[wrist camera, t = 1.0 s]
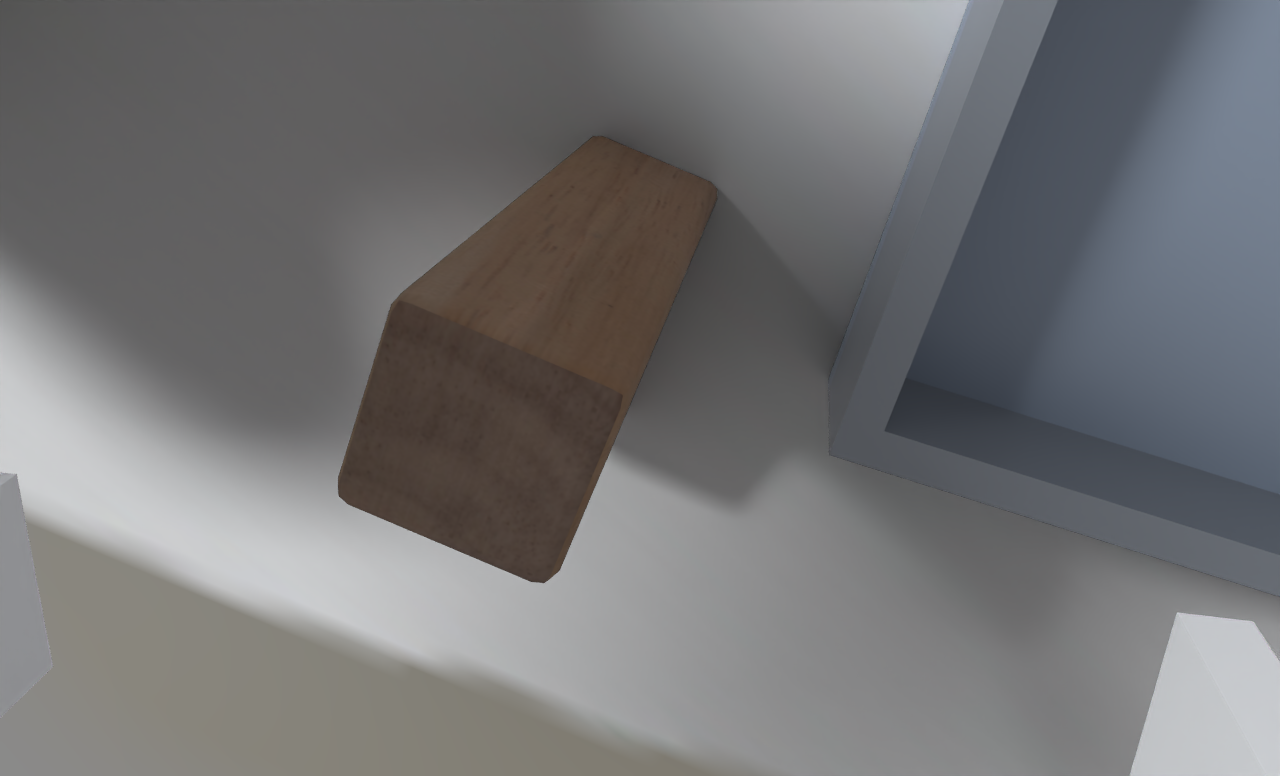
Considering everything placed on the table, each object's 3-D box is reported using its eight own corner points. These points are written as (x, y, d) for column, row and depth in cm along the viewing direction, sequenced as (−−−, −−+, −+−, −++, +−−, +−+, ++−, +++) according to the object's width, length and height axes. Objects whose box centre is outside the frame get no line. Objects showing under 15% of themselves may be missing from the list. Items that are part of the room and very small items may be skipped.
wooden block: (623, 419, 39) (474, 769, 22) (506, 369, 39) (269, 683, 22) (723, 184, 35) (634, 394, 19) (593, 129, 35) (388, 290, 19)
